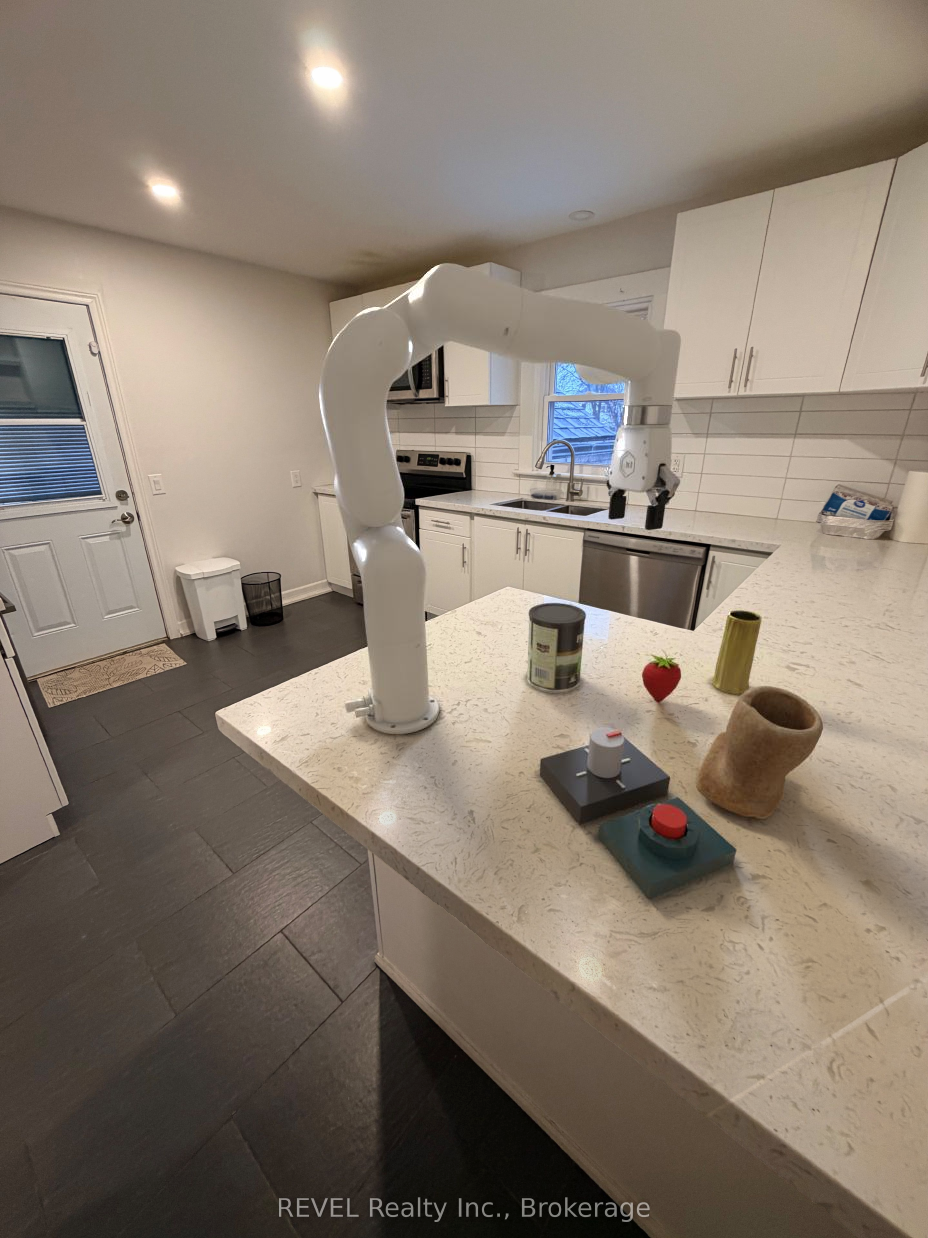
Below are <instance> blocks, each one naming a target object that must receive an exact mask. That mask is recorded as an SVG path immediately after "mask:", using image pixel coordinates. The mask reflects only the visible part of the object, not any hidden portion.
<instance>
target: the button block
mask: <svg viewBox="0 0 928 1238" xmlns="http://www.w3.org/2000/svg"><path fill="white" fill-rule="evenodd" d="M660 804H668V805H672V806H675V807H677V808H679V809H680V810H681V811H682V812H683V813H684V814H685V815H686V818H687V823H686V828H685V833H684V835H683V836H682V837H681V838H679V839H668V838H665V837H663V836H661V835H659V834H657V833H656V832H655V831H654V829H653V828H652V825H651V820H652V814H653V809H654V808H655V807H656V806H657V805H660ZM597 838H598V839H599V841H600V842H601V843H602V844H603V846H604V847H605V848H606V849H607V851H608V852H609V853H610V854H611V855H612V857H613V858H614V859H615V860H616V862H617V863H618V864H619V865H620V867H622V869H623V870H624V872H625V873H626V874H627V875H628V876H629V878H630V879H631V880H632V881H633V882H634V884H635V885H636V886H637V888H638V889H639V890H640V891H641V892H642V893H643V895H644V896H645V897H646V899H648V900H651V899H653V898H655V897H658V896H661V895H663V894H665V893H668V892H670V891H672V890H675V889H677V888H679V887H681V886H684V885H686V884H688V883H691V882H693V881H696V880H698V879H700V878H703V877H705V876H707V875H710V874H713V873H714V872H717V871H719V870H721V869H724V868H726V867H729V866H731V865H733V864H734V861H735V857H736V854H737V848H736V847H734V845H733V844H731V843H730V842H729V841H728V840H727V839H725V837H724V836H722V835H721V834H720V833H719V832H718V831H717V830H715V828H714V827H713V826H711V825H710V824H709V823H708V822H706V821H705V819H703V818H702V817H701V816H700V815H699V814H698V813H697V812H695V811H694V810H693V809H692V808H691V807H690V806H689V805H688V804H687V803H685V802H684V800H682V799H681V798H680V797H679V796H676V797H673V798H671V799H667V800H665V801H662V802H659V803H652V804H649V805H646V806H644V807H642V808H641V809H639V810H636V811H633V812H630V813H627V814H624V815H622V816H619V817H616V818H613V819H611V820H608V821H604V822H602V823H599V825H598V834H597Z"/></svg>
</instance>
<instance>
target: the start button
mask: <svg viewBox="0 0 928 1238" xmlns="http://www.w3.org/2000/svg"><path fill="white" fill-rule="evenodd" d="M686 823H687V818H686V815H685V814H684V813H683V812H682V811H681V810H680V809H679V808H677V807H675V806H672V805H668V804H660V805H657V806H656V807H655V808H654V809H653V814H652V820H651V825H652V828H653V829H654V831H655V832H656V833H657V834H659V835H661V836H663V837H665V838H668V839H679V838H681V837H682V836H683V835H684V833H685V828H686Z"/></svg>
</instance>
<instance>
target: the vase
mask: <svg viewBox="0 0 928 1238" xmlns="http://www.w3.org/2000/svg"><path fill="white" fill-rule="evenodd" d="M762 619H763V618H762V616H761V615H759V613H756V612H753V611H749V610H742V609H741V610H740V609H739V610H731V611H729V612H728V613H727V617H726V621H725V625H724V630H723V631H724V632H723V636H722V640H721V644H720V647H719V651H718V656H717V660H716V664H715V667H714V668H715V669H714V675H713V677H712V679H711V684H712V686H713V687H714V688H716V689H717V690H719V691H721V692H724V693H727V694H732V695H742V694H743V693H744V692H745V691H746V690H748V689H749V687H750V686H749V683H750V676H751V671H752V667H753V663H754V658H755V653H756V647H757V642H758V639H759V633H760V630H761V624H762Z"/></svg>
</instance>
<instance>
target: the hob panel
mask: <svg viewBox="0 0 928 1238" xmlns="http://www.w3.org/2000/svg"><path fill="white" fill-rule="evenodd" d="M623 737H624V736H623ZM588 750H589V744H587V745H584V746H581V747H576V748H574V749H569V750H566V751H562V752H560V753H555V754H552V755H549V756H545V757H542V758H540V760H539V777H540V778H541V779H542V781H543V782H544V783H545V784H546V786H547V787H548V788H549V789H550V791H551V792H552V793H553V794H554V796H555V797H556V798H557V799H558V800H559V802H560V804H562V806H563V807H564V808H565V809H566V811H567V812H568V813H569V814H570V815H571V817H572V819H574V821H575V822H576V823H577V824H578V826H580V825H583V824H587V823H589V822H592V821H595V820H598V819H602V818H604V817H606V816H610V815H613V814H615V813H618V812H622V811H624V810H627V809H630V808H632V807H635V806H638V805H642V804H644V803H647V802H650V801H653V800H656V799H658V798H662V797H664V796H667V795H668V794H669V788H670V781H671V776H670V775H668V773H666V772H665V771H664V770H663V769H662V768H660V766H658V765H657V764H656V763H655V762H653V761H652V760H651V759H650V758H649V756H647V755H646V754H645V753H644V752H642V751H641V750H640V749H638V747H636V746H635V745H634V744H633V743H632V742H631V741H629V740H628V738H626V737H624V747H623V755H622V762H621V770H620V773H619V774H618V775H617V776H615V777H612V778H603V777H599V776H596V775H594V774H593V773H592V772H590V770H589V769H588V767H587V761H588Z"/></svg>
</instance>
